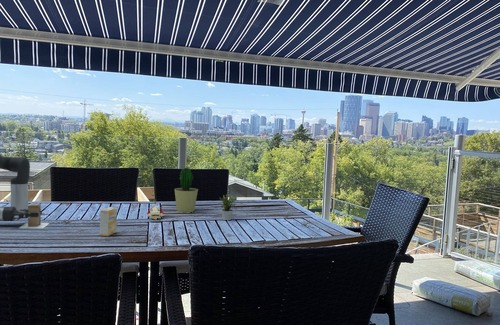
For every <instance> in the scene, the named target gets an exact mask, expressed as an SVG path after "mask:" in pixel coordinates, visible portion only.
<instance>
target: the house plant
mask: <svg viewBox="0 0 500 325" xmlns="http://www.w3.org/2000/svg"><path fill="white" fill-rule="evenodd" d="M222 196H223V197H222V198H221V197H220V196H219V200H221V202H222V203H220V202H217V204H218V205H220V206H222V209H221V217H222V221H223V220H231V221H232V217H233V209H232V208H233V207H235V206H237V204H238V203H234V202H236V201H237V202H238V201H239V200H238V199H237V197H236V198H234V195H233V194H231V195H230V196H229V197H228V194H227V193H226V194H225V195H224V194H223V195H222ZM225 196H226V197H225Z"/></svg>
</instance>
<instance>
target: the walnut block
mask: <svg viewBox="0 0 500 325" xmlns="http://www.w3.org/2000/svg"><path fill="white" fill-rule="evenodd" d="M41 207H42V206H41V204H39V203H37V204H35V203H31V204H28V213H30V214H31V213H39V216H38V217H30V218H27V221H28V222H27V223H28V227H38V226H39V225H40V224H41V223H42V222H41V219H42V218H41V216H42V214H41V211H42V210H41Z"/></svg>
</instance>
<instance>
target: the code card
mask: <svg viewBox="0 0 500 325" xmlns="http://www.w3.org/2000/svg"><path fill="white" fill-rule="evenodd" d="M49 224H50V222H41V224H40V225H39V226H38V227H28V222H26V223H24V224H22V225H21V226H19V227H18V229H44V228H45V227H47V226H48V225H49Z"/></svg>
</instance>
